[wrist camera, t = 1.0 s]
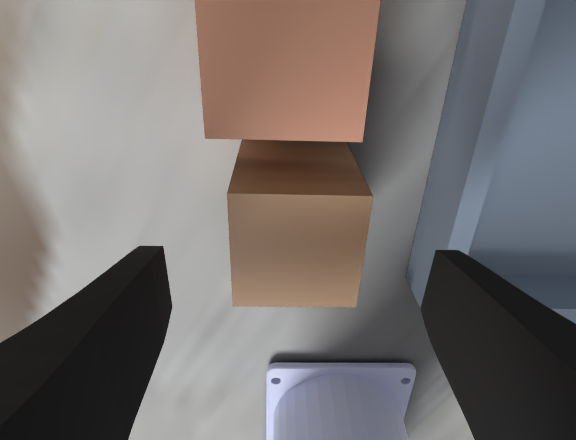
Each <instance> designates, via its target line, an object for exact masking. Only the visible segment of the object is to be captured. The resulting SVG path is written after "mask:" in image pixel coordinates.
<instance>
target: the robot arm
mask: <svg viewBox="0 0 576 440" xmlns="http://www.w3.org/2000/svg"><path fill="white" fill-rule="evenodd" d="M420 309H421V312H422V316H423V319H424V323H425V326H426V329H427V332H428V336H429V339H430V342H431V344H432V346H433V349H434V351H435V353H436V355H437V358H438V360H439V362H440V364H441V366H442V369H443V371H444V373H445V375H446V377H447V379H448V381H449V384H450V386H451V388H452V390H453V392H454V394H455V397H456V399H457V401H458V403H459V405H460V407H461V409H462V412H463V414H464V416H465V418H466V420H467V422H468V425H469V427H470V430H471V432H472V434H473V437H474V439H475V440H576V324H575V323H574V322H572V321H570V320H569V319H567V318H565V317H563V316H562V315H560V314H558V313H557V312H555V311H553V310H552V309H550V308H548V307H547V306H545V305H544V304H542V303H540V302H539V301H537V300H536V299H534V298H532V297H531V296H529V295H528V294H526V293H525V292H523V291H522V290H520V289H519V288H517V287H516V286H514V285H512V284H511V283H509V282H508V281H506V280H505V279H503V278H502V277H500V276H499V275H497V274H496V273H494V272H493V271H491V270H490V269H488V268H487V267H485V266H484V265H482V264H481V263H479V262H478V261H476V260H475V259H473V258H471V257H470V256H468V255H466V254H465V253H463V252H461V251H459V250H435V254H434V258H433V262H432V266H431V270H430V273H429V277H428V281H427V285H426V289H425V293H424V296H423V300H422V304H421V308H420ZM171 310H172V301H171V295H170V288H169V281H168V275H167V268H166V261H165V255H164V248H163V246H139V247H137V248H136V249H134V250H133V251H132V252H130V253H129V254H128V255H126V256H125V257H124V258H122V259H121V260H120V261H119V262H117V263H116V264H115V265H113V266H112V267H111V268H110V269H108V270H107V271H106V272H104V273H103V274H102V275H100V276H99V277H98V278H96V279H95V280H94V281H93V282H91V283H90V284H89V285H87V286H86V287H85V288H83V289H82V290H81V291H79V292H78V293H76V294H75V295H74V296H72V297H71V298H69V299H68V300H66V301H65V302H63V303H62V304H61V305H59V306H58V307H56V308H55V309H53V310H52V311H51V312H49V313H48V314H46V315H45V316H43V317H42V318H40V319H39V320H37V321H36V322H34V323H33V324H31V325H29V326H28V327H26V328H25V329H23V330H21V331H20V332H18V333H17V334H15V335H13V336H12V337H10V338H8V339H6V340H5V341H3V342H1V343H0V440H128V438H129V435H130V432H131V429H132V426H133V423H134V420H135V418H136V415H137V412H138V410H139V407H140V405H141V402H142V399H143V397H144V394H145V391H146V389H147V386H148V383H149V381H150V378H151V376H152V373H153V370H154V368H155V365H156V362H157V359H158V357H159V354H160V351H161V349H162V346H163V343H164V340H165V336H166V332H167V328H168V324H169V319H170V315H171ZM415 377H416V370H415V367H414V366H413V365H412V364H410V363H272V364H270V365H269V366H268V367H267V396H266V440H409V437H408V434H407V431H406V427H405V424H404V421H403V420H404V416H405V413H406V409H407V406H408V402H409V399H410V395H411V391H412V388H413V384H414V381H415Z"/></svg>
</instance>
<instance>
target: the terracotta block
mask: <svg viewBox="0 0 576 440" xmlns="http://www.w3.org/2000/svg"><path fill="white" fill-rule="evenodd" d="M380 1H381V0H195V11H196V24H197V37H198V51H199V64H200V78H201V91H202V105H203V118H204V132H205V139H246V140H289V141H332V142H363V134H364V126H365V119H366V111H367V103H368V95H369V87H370V80H371V72H372V64H373V56H374V48H375V40H376V33H377V25H378V17H379V9H380Z"/></svg>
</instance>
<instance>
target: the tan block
mask: <svg viewBox="0 0 576 440" xmlns="http://www.w3.org/2000/svg"><path fill="white" fill-rule="evenodd" d="M227 201H228V221H229V241H230V261H231V281H232V301H233V306H260V307H356V306H357V299H358V293H359V286H360V280H361V273H362V267H363V260H364V253H365V247H366V240H367V234H368V227H369V221H370V214H371V208H372V201H373V195H372V193H371V191H370V189H369V187H368V185H367V183H366V181H365V179H364V177H363V175H362V173H361V171H360V169H359V167H358V165H357V163H356V161H355V158H354V156H353V154H352V152H351V150H350V148H349V146H348V144H347V142H332V141H289V140H246V139H242V141H241V145H240V148H239V152H238V156H237V159H236V163H235V167H234V170H233V174H232V177H231V181H230V185H229V188H228V192H227Z"/></svg>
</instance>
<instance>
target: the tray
mask: <svg viewBox="0 0 576 440" xmlns="http://www.w3.org/2000/svg"><path fill="white" fill-rule="evenodd" d="M435 250H459V251H461V252H463V253H465V254H466V255H468V256H470V257H471V258H473V259H475V260H476V261H478V262H479V263H481V264H482V265H484V266H485V267H487V268H488V269H490V270H491V271H493V272H494V273H496V274H497V275H499V276H500V277H502V278H503V279H505V280H506V281H508V282H509V283H511V284H512V285H514V286H516V287H517V288H519V289H520V290H522V291H523V292H525V293H526V294H528V295H529V296H531V297H532V298H534V299H536V300H537V301H539V302H540V303H542V304H544V305H545V306H547V307H548V308H550V309H552V310H553V311H555V312H557V313H558V314H560V315H562V316H563V317H565V318H567V319H569V320H570V321H572V322H574V323H575V324H576V0H467V2H466V7H465V11H464V16H463V20H462V25H461V29H460V34H459V39H458V43H457V48H456V52H455V57H454V61H453V66H452V70H451V75H450V79H449V84H448V88H447V93H446V97H445V102H444V106H443V111H442V115H441V120H440V124H439V129H438V133H437V138H436V142H435V147H434V151H433V156H432V160H431V165H430V169H429V174H428V179H427V183H426V188H425V192H424V197H423V201H422V206H421V210H420V215H419V219H418V224H417V228H416V233H415V237H414V242H413V246H412V251H411V255H410V260H409V264H408V269H407V273H406V279H407V281H408V284H409V286H410V288H411V290H412V292H413V294H414V296H415V298H416V301H417V303H418V305H419V307H420V308H421V304H422V300H423V296H424V293H425V289H426V285H427V281H428V277H429V273H430V270H431V266H432V262H433V258H434V254H435Z"/></svg>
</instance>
